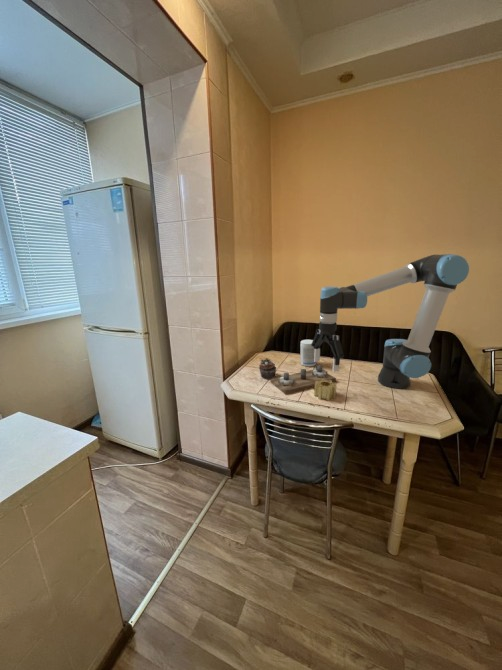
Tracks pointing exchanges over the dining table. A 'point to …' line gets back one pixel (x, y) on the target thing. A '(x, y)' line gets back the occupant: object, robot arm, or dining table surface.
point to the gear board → (301, 380)
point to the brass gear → (325, 389)
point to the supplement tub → (307, 353)
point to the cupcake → (267, 369)
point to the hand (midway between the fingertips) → (325, 366)
